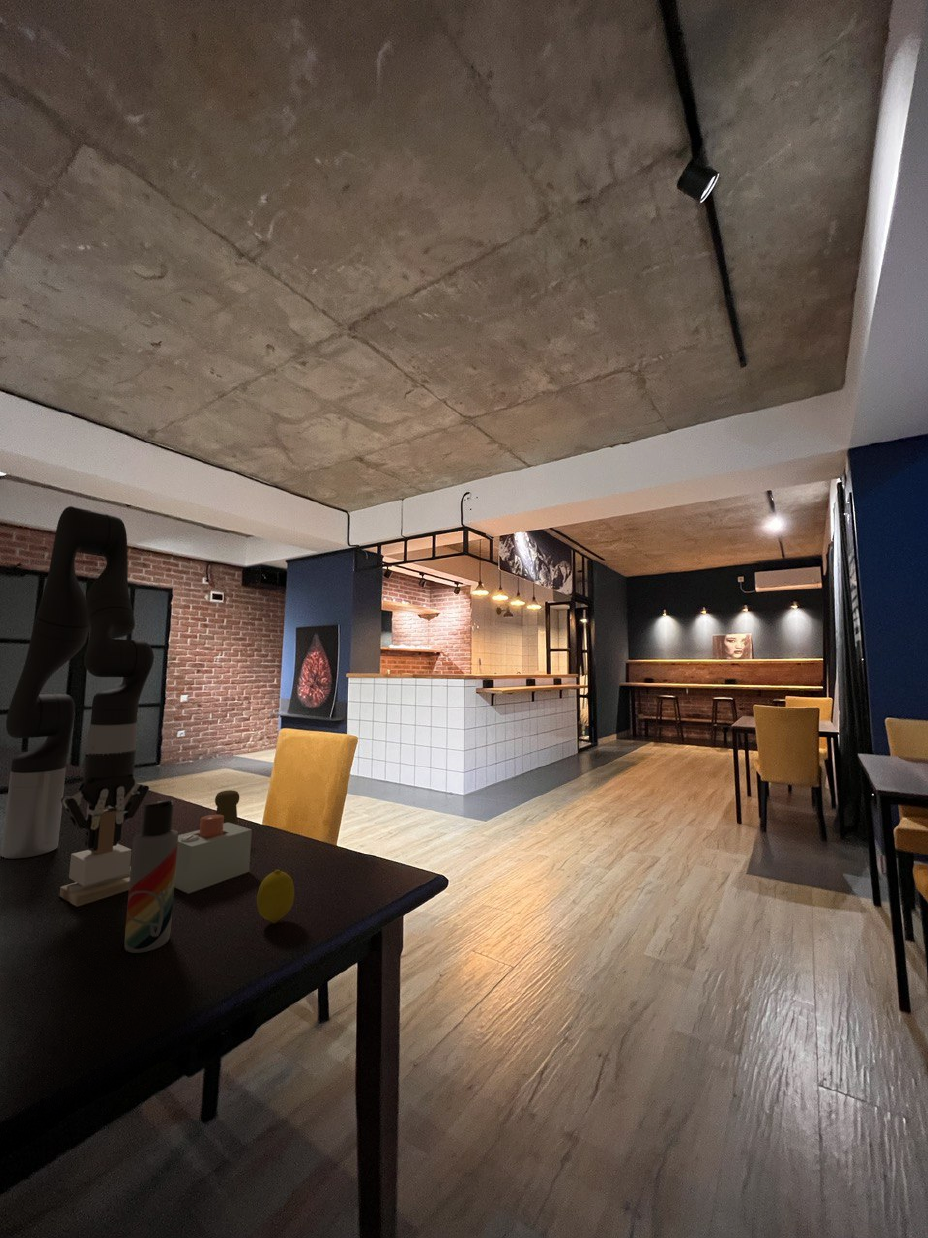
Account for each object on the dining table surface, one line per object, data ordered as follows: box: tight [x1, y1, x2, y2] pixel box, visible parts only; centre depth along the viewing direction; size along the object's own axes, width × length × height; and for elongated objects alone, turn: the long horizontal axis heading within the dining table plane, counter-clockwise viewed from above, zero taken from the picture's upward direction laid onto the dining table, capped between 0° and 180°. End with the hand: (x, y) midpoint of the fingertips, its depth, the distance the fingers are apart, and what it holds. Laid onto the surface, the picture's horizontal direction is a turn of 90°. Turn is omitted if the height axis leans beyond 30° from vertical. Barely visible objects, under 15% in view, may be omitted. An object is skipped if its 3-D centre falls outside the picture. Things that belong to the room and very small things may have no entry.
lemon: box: [256, 869, 295, 924], centre depth 79 cm, size 6×6×8 cm
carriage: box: [68, 808, 132, 886], centre depth 89 cm, size 6×7×11 cm
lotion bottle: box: [123, 799, 179, 954], centre depth 73 cm, size 6×6×20 cm
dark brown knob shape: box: [214, 789, 240, 826], centre depth 116 cm, size 6×6×11 cm
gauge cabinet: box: [174, 823, 253, 895], centre depth 96 cm, size 8×12×8 cm, turn 148°
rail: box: [58, 866, 131, 907], centre depth 95 cm, size 7×25×4 cm, turn 148°
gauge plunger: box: [199, 814, 224, 839], centre depth 96 cm, size 4×4×6 cm
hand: (102, 847), depth 89 cm, fingers closed on carriage, 2 cm apart
